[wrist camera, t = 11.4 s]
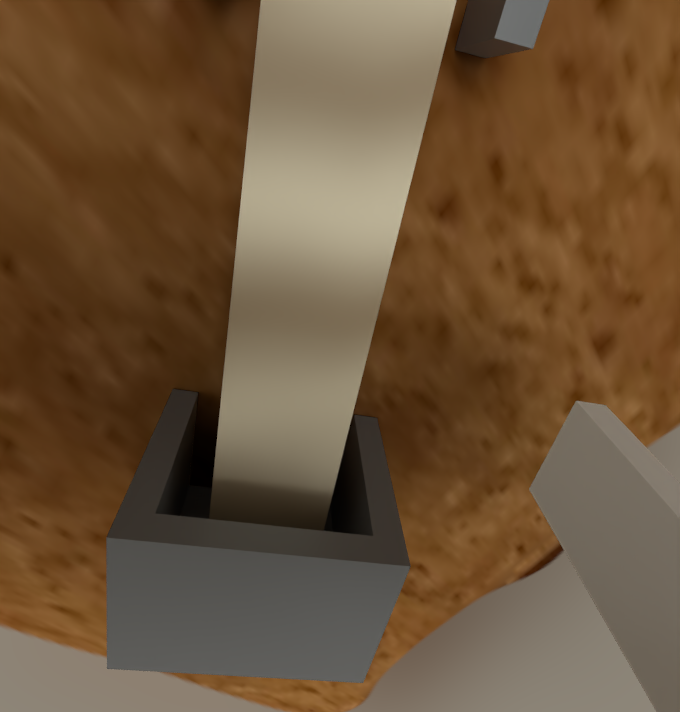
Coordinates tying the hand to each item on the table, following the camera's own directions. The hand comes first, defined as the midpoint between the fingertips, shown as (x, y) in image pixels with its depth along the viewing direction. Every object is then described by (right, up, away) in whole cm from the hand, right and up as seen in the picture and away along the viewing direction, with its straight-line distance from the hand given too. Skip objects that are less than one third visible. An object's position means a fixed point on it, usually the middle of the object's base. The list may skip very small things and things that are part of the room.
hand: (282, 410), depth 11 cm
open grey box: (-2, -3, +11) cm, 12 cm away
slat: (0, +4, +7) cm, 9 cm away
